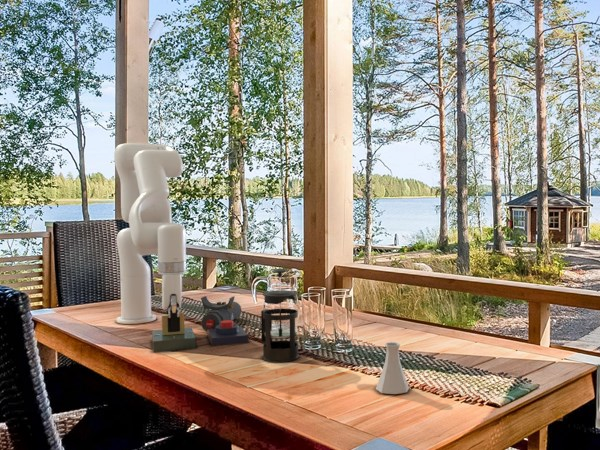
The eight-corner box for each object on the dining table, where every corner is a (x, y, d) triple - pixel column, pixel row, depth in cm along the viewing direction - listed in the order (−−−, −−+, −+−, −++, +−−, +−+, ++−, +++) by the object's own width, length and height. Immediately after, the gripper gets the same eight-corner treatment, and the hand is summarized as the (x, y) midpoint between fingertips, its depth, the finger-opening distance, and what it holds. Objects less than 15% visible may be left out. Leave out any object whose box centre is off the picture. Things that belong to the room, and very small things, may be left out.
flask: (374, 384, 126) (374, 340, 126) (406, 383, 127) (406, 339, 126) (377, 395, 119) (377, 348, 119) (411, 394, 120) (411, 347, 119)
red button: (220, 326, 168) (220, 320, 168) (232, 325, 169) (232, 319, 169) (221, 329, 164) (221, 323, 164) (234, 328, 166) (234, 322, 166)
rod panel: (152, 340, 166) (152, 329, 166) (191, 337, 170) (191, 326, 170) (153, 352, 153) (153, 340, 153) (195, 348, 157) (195, 337, 157)
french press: (308, 356, 148) (307, 269, 147) (282, 365, 141) (281, 273, 140) (276, 349, 156) (276, 266, 154) (250, 357, 148) (249, 269, 147)
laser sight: (247, 318, 196) (247, 290, 195) (224, 334, 173) (224, 301, 173) (219, 318, 197) (219, 289, 196) (194, 333, 174) (193, 301, 174)
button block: (207, 336, 171) (207, 323, 170) (241, 333, 174) (241, 320, 174) (212, 346, 159) (212, 331, 159) (248, 342, 163) (247, 328, 163)
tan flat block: (162, 335, 159) (161, 315, 159) (162, 333, 161) (161, 313, 161) (184, 333, 161) (184, 313, 161) (184, 332, 163) (183, 312, 163)
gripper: (157, 265, 167) (158, 322, 168) (158, 272, 151) (159, 336, 152) (184, 264, 170) (185, 320, 171) (188, 271, 154) (189, 333, 154)
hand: (173, 327), depth 161 cm, fingers open, 9 cm apart
